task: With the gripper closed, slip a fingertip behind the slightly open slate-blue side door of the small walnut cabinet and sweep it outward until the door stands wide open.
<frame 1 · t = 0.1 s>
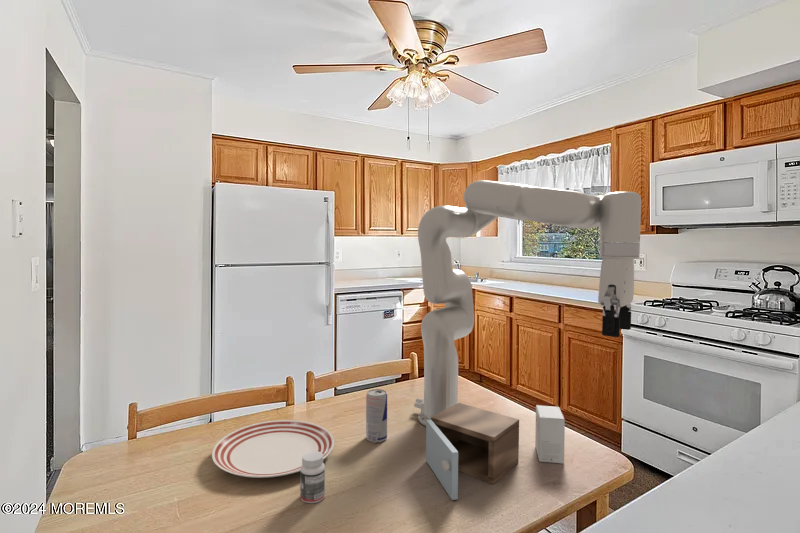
hand: (616, 332, 92), 31 cm above the table, tool pointing down, fingers open, 9 cm apart
side door: (437, 456, 92), point 5 cm above the table, hinge at 35.0°
pill bottle: (312, 498, 86), on the table
dinner plate: (275, 457, 102), on the table
small box: (548, 455, 103), on the table
cabinet: (474, 461, 100), on the table
energy drink: (376, 439, 112), on the table
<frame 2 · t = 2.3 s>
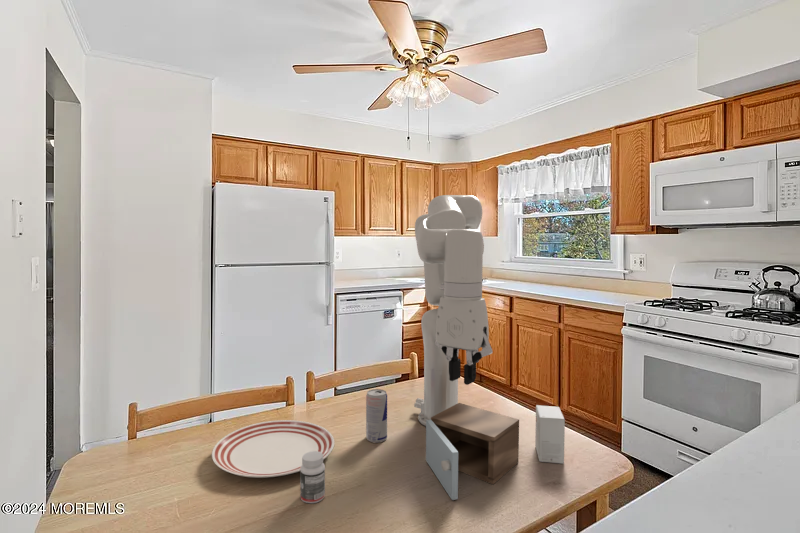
hand: (462, 380, 88), 22 cm above the table, tool pointing down, fingers closed
nothing on the table moved.
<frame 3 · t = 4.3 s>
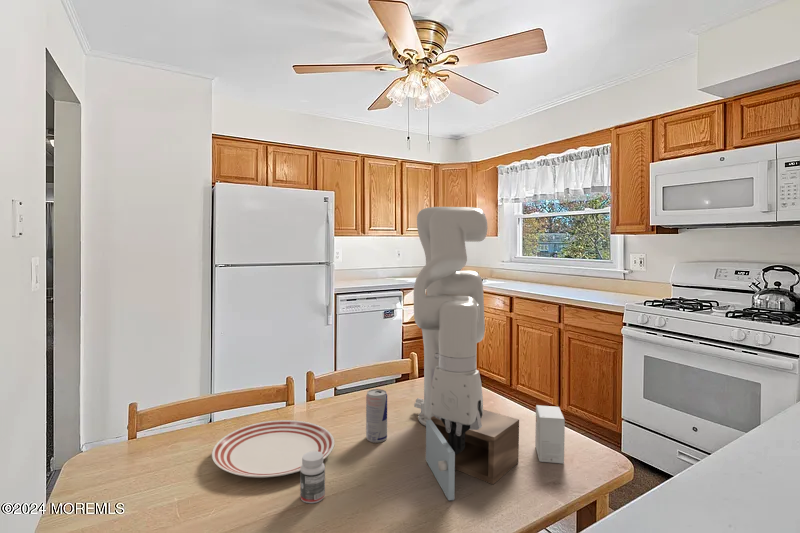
hand: (456, 451, 89), 8 cm above the table, tool pointing down, fingers closed
side door: (435, 457, 92), point 5 cm above the table, hinge at 37.6°, touching gripper
everything else where it was.
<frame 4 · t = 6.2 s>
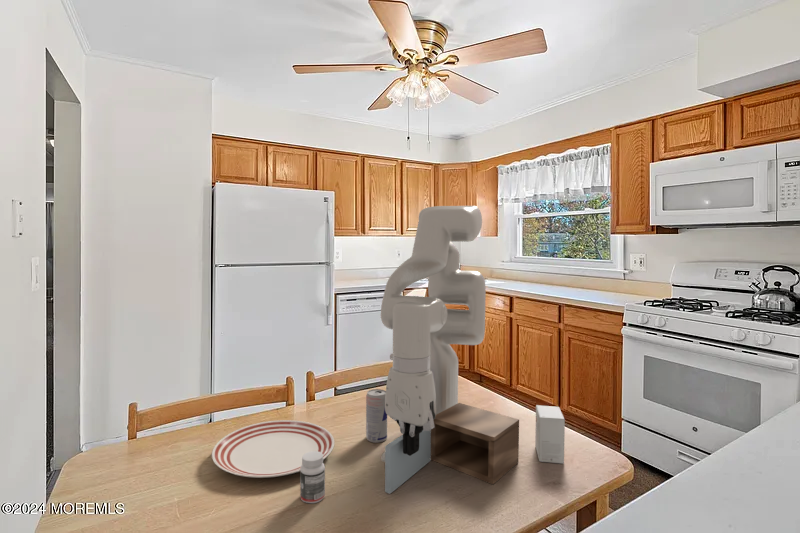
hand: (411, 452, 89), 7 cm above the table, tool pointing down, fingers closed
side door: (406, 452, 94), point 5 cm above the table, hinge at 84.2°, touching gripper
everything else where it was.
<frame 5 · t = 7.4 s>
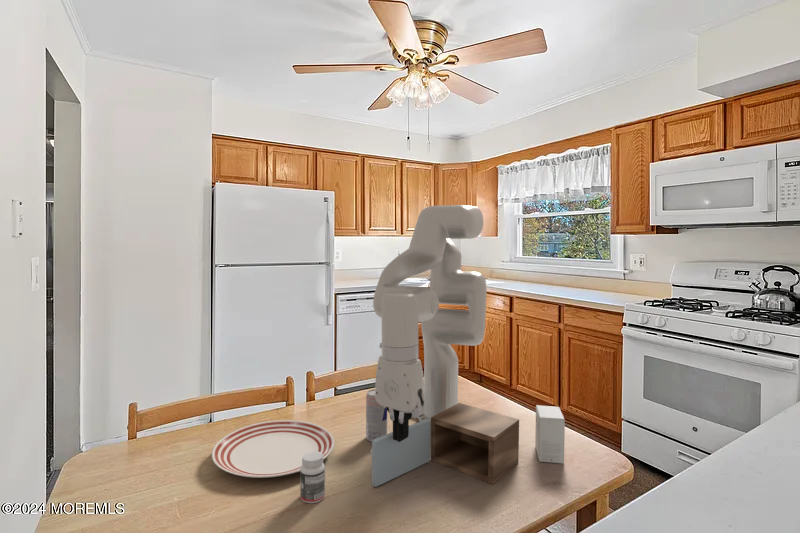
hand: (400, 438, 91), 9 cm above the table, tool pointing down, fingers closed
side door: (400, 449, 95), point 5 cm above the table, hinge at 97.9°
everything else where it was.
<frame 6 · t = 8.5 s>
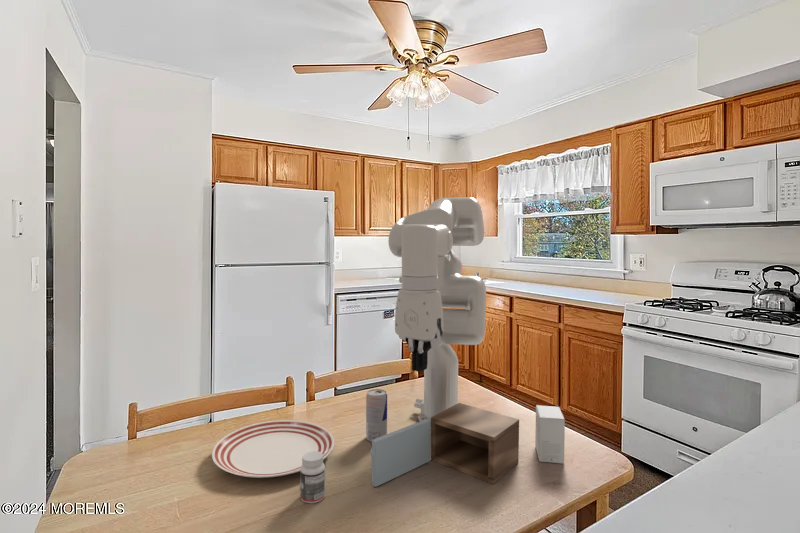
hand: (419, 369, 93), 23 cm above the table, tool pointing down, fingers closed
nothing on the table moved.
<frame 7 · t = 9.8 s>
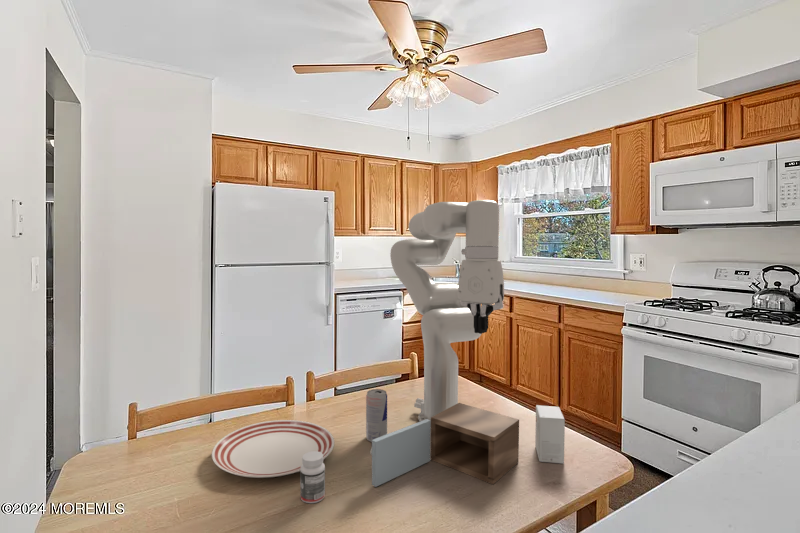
hand: (480, 332, 102), 29 cm above the table, tool pointing down, fingers closed
nothing on the table moved.
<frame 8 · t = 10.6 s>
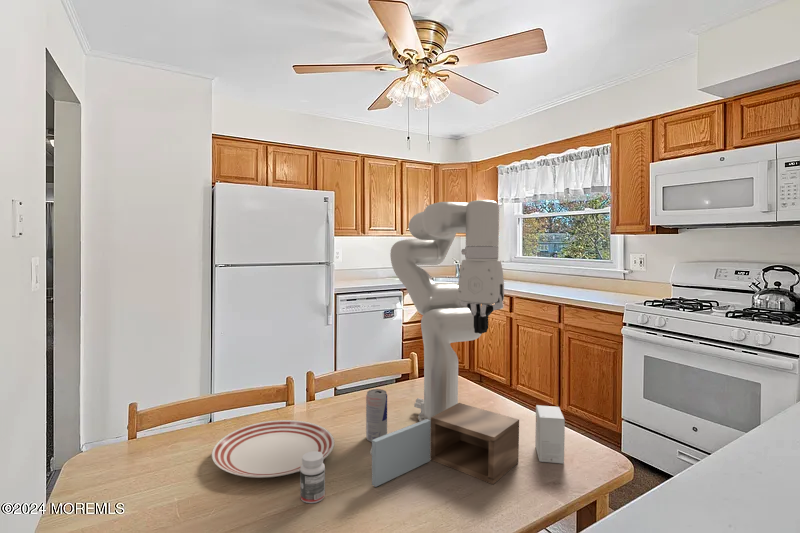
hand: (480, 332, 102), 29 cm above the table, tool pointing down, fingers closed
nothing on the table moved.
at the end: side door at +98° (first picture: +35°); energy drink moved 0.2 cm from its start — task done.
